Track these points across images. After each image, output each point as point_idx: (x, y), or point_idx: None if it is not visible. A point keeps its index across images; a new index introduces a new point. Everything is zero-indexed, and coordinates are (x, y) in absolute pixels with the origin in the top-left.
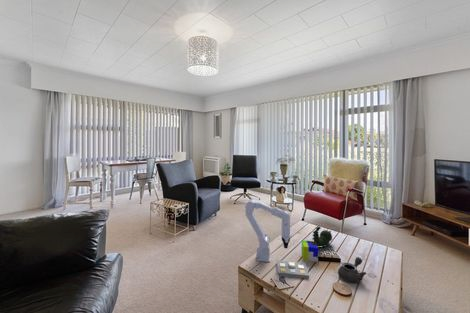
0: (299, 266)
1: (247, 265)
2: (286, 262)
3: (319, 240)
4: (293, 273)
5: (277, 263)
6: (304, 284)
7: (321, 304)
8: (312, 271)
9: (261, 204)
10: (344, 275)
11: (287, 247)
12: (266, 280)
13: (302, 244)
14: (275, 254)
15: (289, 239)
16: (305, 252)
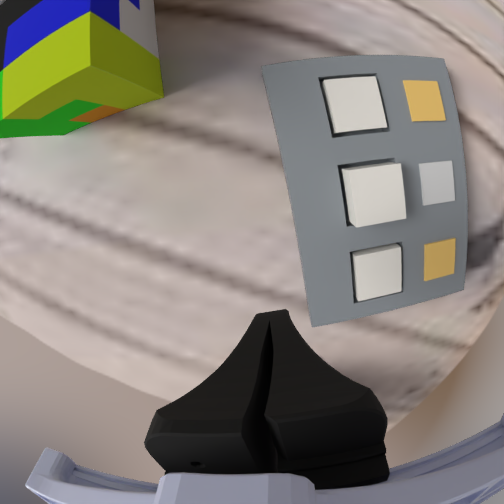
0: (361, 117)
1: None
2: (326, 244)
3: None
4: (461, 177)
5: (362, 314)
6: (489, 110)
7: None
8: (329, 21)
9: None
10: None
11: (287, 314)
12: (485, 325)
13: (21, 120)
14: (182, 334)
15: (333, 423)
16: (128, 62)
